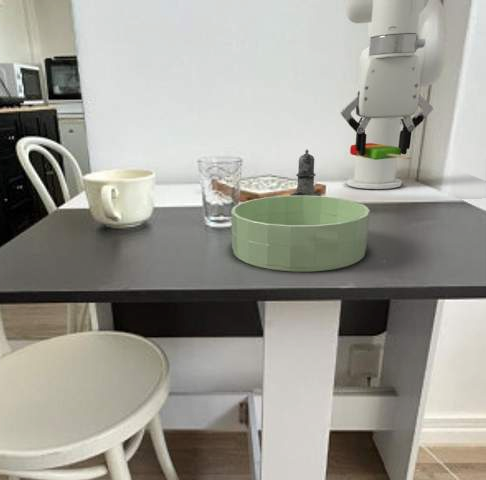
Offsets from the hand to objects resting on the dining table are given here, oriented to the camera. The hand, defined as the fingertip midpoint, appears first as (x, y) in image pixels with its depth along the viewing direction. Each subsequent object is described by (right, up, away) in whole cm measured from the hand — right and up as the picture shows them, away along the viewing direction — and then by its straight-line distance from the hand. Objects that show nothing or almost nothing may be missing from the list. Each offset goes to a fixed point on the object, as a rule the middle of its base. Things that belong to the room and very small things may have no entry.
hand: (381, 153), depth 83 cm
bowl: (-20, -19, -18) cm, 33 cm away
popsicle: (0, -1, +1) cm, 1 cm away
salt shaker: (-14, -11, +1) cm, 18 cm away
